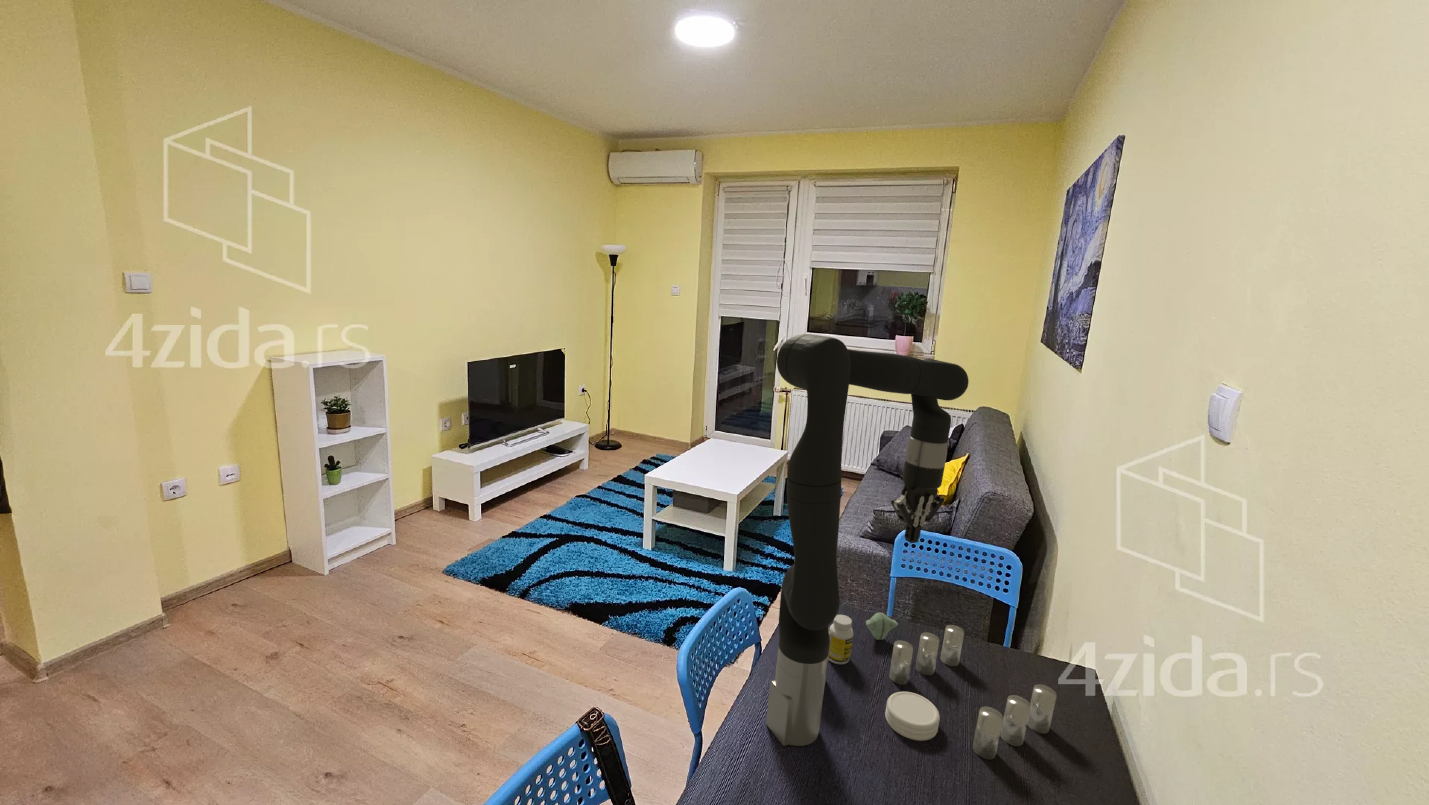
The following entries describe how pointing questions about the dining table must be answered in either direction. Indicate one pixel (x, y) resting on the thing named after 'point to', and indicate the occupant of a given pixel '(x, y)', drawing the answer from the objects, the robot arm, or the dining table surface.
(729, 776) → the dining table surface
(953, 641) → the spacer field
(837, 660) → the supplement bottle
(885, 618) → the pale green rounded piece
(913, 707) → the white round lidded container
